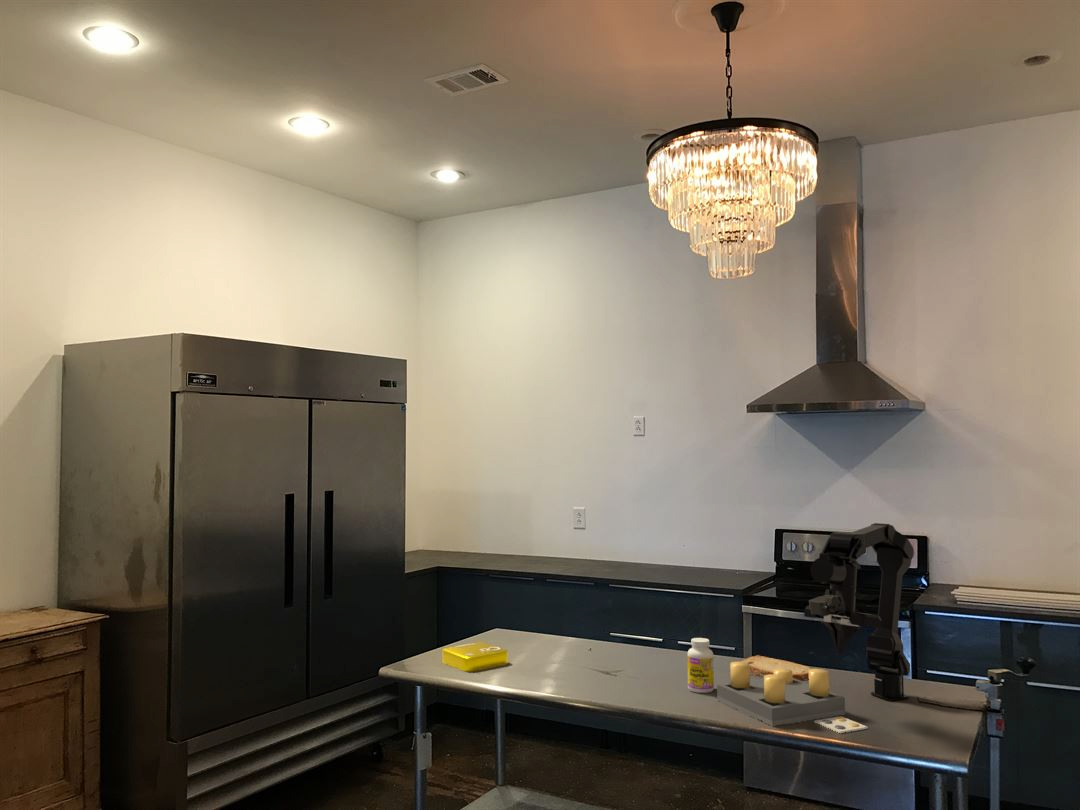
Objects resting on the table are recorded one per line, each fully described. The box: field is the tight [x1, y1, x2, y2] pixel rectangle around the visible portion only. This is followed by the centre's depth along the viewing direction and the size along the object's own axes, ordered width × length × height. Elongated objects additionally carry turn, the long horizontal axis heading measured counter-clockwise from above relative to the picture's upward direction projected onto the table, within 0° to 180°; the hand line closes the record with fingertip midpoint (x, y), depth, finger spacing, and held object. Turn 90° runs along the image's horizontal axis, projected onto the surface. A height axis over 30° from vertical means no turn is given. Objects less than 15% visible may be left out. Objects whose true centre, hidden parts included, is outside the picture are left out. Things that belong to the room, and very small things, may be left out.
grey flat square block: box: [716, 677, 846, 727], centre depth 198 cm, size 21×21×4 cm
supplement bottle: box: [687, 637, 715, 694], centre depth 213 cm, size 7×7×13 cm
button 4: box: [808, 668, 830, 696], centre depth 195 cm, size 5×5×5 cm
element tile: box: [441, 641, 509, 673], centre depth 242 cm, size 15×15×5 cm
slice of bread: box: [740, 654, 812, 681], centre depth 230 cm, size 18×18×4 cm
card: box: [813, 715, 868, 734], centre depth 185 cm, size 8×8×1 cm
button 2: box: [764, 675, 785, 703], centre depth 190 cm, size 5×5×5 cm
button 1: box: [729, 661, 751, 688], centre depth 202 cm, size 5×5×5 cm
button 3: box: [773, 668, 793, 684], centre depth 207 cm, size 5×5×5 cm
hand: (839, 654), depth 191 cm, fingers closed
